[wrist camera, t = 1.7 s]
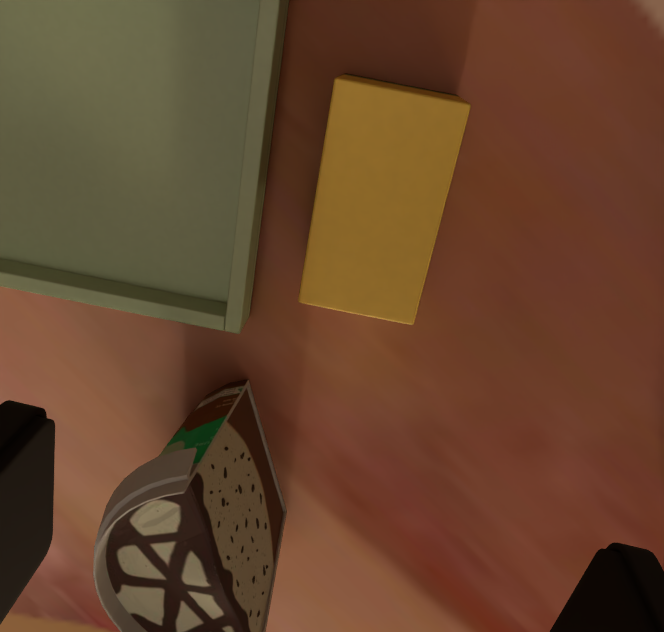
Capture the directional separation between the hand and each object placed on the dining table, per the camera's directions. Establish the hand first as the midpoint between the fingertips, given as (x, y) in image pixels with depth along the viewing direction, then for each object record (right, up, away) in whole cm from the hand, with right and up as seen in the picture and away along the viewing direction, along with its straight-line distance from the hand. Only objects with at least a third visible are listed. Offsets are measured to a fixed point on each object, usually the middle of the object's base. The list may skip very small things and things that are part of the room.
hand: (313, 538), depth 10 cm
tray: (-13, +13, +17) cm, 25 cm away
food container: (-6, -4, +24) cm, 25 cm away
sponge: (+2, +10, +17) cm, 19 cm away
